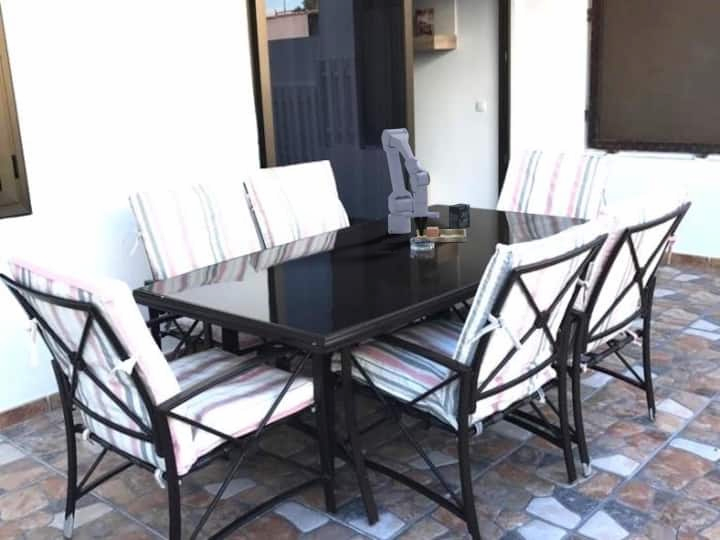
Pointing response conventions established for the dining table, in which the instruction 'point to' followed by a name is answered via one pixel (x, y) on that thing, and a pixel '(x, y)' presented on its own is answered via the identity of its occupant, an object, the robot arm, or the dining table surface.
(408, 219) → the robot arm
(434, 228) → the block
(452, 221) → the box
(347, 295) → the dining table surface
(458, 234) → the tray
